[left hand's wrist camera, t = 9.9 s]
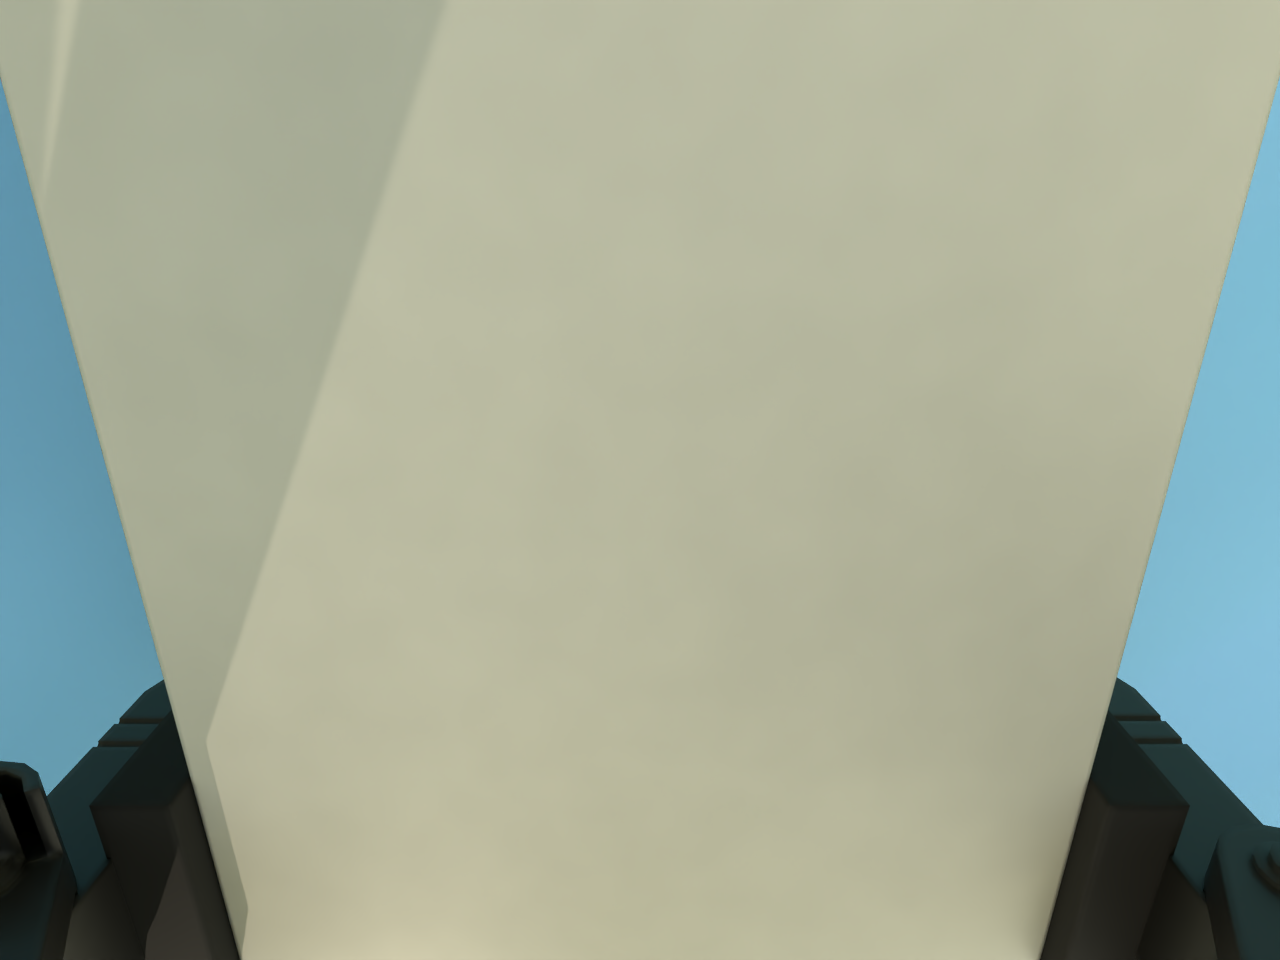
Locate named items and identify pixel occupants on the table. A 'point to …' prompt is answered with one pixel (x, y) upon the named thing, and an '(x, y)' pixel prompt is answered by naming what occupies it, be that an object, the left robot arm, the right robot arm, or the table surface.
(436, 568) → the beige rectangular bar
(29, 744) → the table surface
